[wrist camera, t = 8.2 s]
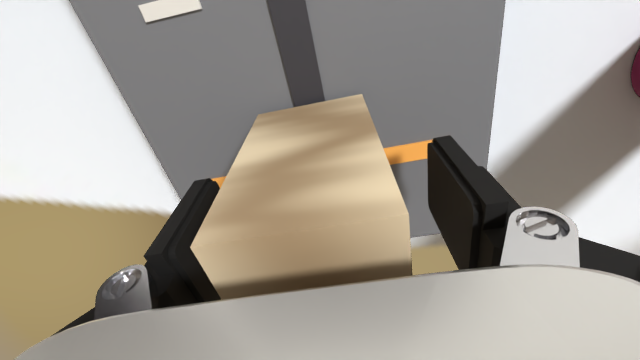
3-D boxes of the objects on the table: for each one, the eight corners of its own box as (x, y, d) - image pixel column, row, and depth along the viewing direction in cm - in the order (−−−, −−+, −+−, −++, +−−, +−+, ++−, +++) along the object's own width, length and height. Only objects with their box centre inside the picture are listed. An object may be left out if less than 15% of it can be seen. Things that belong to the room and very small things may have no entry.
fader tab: (364, 93, 11) (416, 216, 5) (380, 217, 14) (423, 384, 8) (255, 115, 11) (183, 252, 5) (294, 230, 15) (274, 397, 9)
